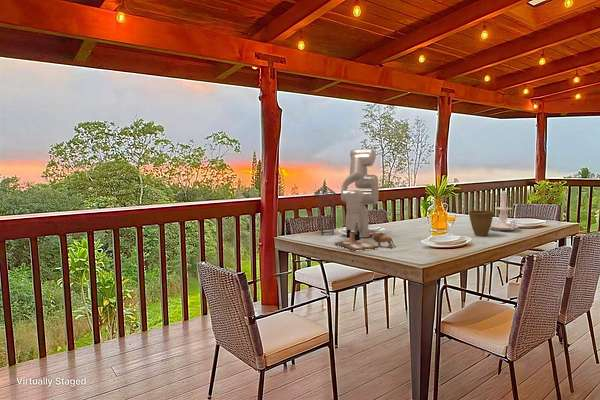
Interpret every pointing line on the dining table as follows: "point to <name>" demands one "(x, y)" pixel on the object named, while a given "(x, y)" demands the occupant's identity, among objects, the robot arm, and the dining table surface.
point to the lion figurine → (382, 239)
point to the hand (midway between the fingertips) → (353, 239)
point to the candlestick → (504, 216)
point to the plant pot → (481, 222)
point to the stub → (352, 239)
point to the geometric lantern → (325, 205)
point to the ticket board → (356, 246)
